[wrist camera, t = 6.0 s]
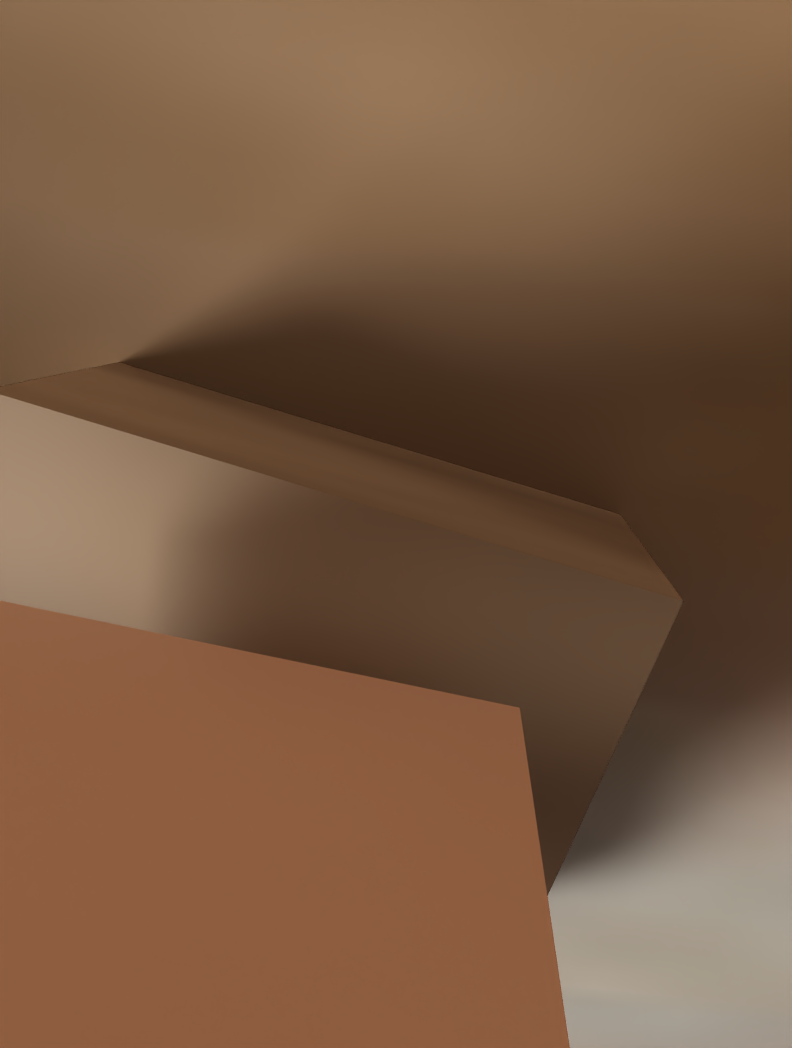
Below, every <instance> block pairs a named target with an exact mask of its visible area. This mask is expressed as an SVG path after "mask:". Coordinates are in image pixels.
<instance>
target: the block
mask: <svg viewBox="0 0 792 1048" xmlns="http://www.w3.org/2000/svg"><path fill="white" fill-rule="evenodd" d="M0 601H5V602H10V603H15V604H19V605H24V606H29V607H34V608H39V609H44V610H48V611H53V612H58V613H63V614H68V615H73V616H78V617H82V618H87V619H92V620H97V621H102V622H107V623H111V624H116V625H121V626H126V627H131V628H136V629H141V630H145V631H150V632H155V633H160V634H165V635H170V636H174V637H179V638H184V639H189V640H194V641H199V642H204V643H208V644H213V645H218V646H223V647H228V648H233V649H237V650H242V651H247V652H252V653H257V654H262V655H267V656H271V657H276V658H281V659H286V660H291V661H296V662H300V663H305V664H310V665H315V666H320V667H325V668H330V669H334V670H339V671H344V672H349V673H354V674H359V675H363V676H368V677H373V678H378V679H383V680H388V681H393V682H397V683H402V684H407V685H412V686H417V687H422V688H426V689H431V690H436V691H441V692H446V693H451V694H456V695H460V696H465V697H470V698H475V699H480V700H485V701H489V702H494V703H499V704H504V705H509V706H514V707H519V708H520V713H521V720H522V727H523V734H524V741H525V747H526V754H527V761H528V768H529V775H530V781H531V788H532V795H533V802H534V809H535V815H536V822H537V829H538V836H539V843H540V849H541V856H542V863H543V870H544V877H545V883H546V890H547V896H548V893H549V891H550V889H551V887H552V885H553V883H554V880H555V878H556V876H557V874H558V872H559V870H560V868H561V865H562V863H563V861H564V859H565V857H566V855H567V852H568V850H569V848H570V846H571V844H572V842H573V839H574V837H575V835H576V833H577V831H578V829H579V826H580V824H581V822H582V820H583V818H584V816H585V813H586V811H587V809H588V807H589V805H590V803H591V800H592V798H593V796H594V794H595V792H596V790H597V787H598V785H599V783H600V781H601V779H602V777H603V774H604V772H605V770H606V768H607V766H608V764H609V761H610V759H611V757H612V755H613V753H614V751H615V748H616V746H617V744H618V742H619V740H620V738H621V735H622V733H623V731H624V729H625V727H626V725H627V722H628V720H629V718H630V716H631V714H632V712H633V709H634V707H635V705H636V703H637V701H638V699H639V696H640V694H641V692H642V690H643V688H644V686H645V683H646V681H647V679H648V677H649V675H650V673H651V670H652V668H653V666H654V664H655V662H656V660H657V657H658V655H659V653H660V651H661V649H662V647H663V645H664V642H665V640H666V638H667V636H668V634H669V632H670V629H671V627H672V625H673V623H674V621H675V619H676V616H677V614H678V612H679V610H680V608H681V606H682V603H683V600H682V598H681V597H680V596H679V594H678V593H677V592H676V590H675V589H674V587H673V586H672V585H671V583H670V582H669V581H668V579H667V578H666V576H665V575H664V574H663V572H662V571H661V570H660V568H659V567H658V566H657V564H656V563H655V561H654V560H653V559H652V557H651V556H650V555H649V553H648V552H647V550H646V549H645V548H644V546H643V545H642V544H641V542H640V541H639V540H638V538H637V537H636V535H635V534H634V533H633V531H632V530H631V529H630V527H629V526H628V524H627V523H626V522H625V520H624V519H623V518H622V516H621V515H620V514H617V513H614V512H610V511H607V510H604V509H600V508H597V507H594V506H591V505H587V504H584V503H581V502H577V501H574V500H571V499H568V498H564V497H561V496H558V495H554V494H551V493H548V492H545V491H541V490H538V489H535V488H531V487H528V486H525V485H521V484H518V483H515V482H512V481H508V480H505V479H502V478H498V477H495V476H492V475H489V474H485V473H482V472H479V471H475V470H472V469H469V468H466V467H462V466H459V465H456V464H452V463H449V462H446V461H442V460H439V459H436V458H433V457H429V456H426V455H423V454H419V453H416V452H413V451H410V450H406V449H403V448H400V447H396V446H393V445H390V444H387V443H383V442H380V441H377V440H373V439H370V438H367V437H364V436H360V435H357V434H354V433H350V432H347V431H344V430H340V429H337V428H334V427H331V426H327V425H324V424H321V423H317V422H314V421H311V420H308V419H304V418H301V417H298V416H294V415H291V414H288V413H285V412H281V411H278V410H275V409H271V408H268V407H265V406H262V405H258V404H255V403H252V402H248V401H245V400H242V399H238V398H235V397H232V396H229V395H225V394H222V393H219V392H215V391H212V390H209V389H206V388H202V387H199V386H196V385H192V384H189V383H186V382H183V381H179V380H176V379H173V378H169V377H166V376H163V375H159V374H156V373H153V372H150V371H146V370H143V369H140V368H136V367H133V366H130V365H127V364H123V363H120V362H118V363H113V364H108V365H103V366H98V367H93V368H88V369H83V370H79V371H74V372H69V373H64V374H59V375H54V376H49V377H44V378H39V379H34V380H29V381H24V382H20V383H15V384H10V385H5V386H0Z"/></svg>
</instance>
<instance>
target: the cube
mask: <svg viewBox="0 0 792 1048" xmlns="http://www.w3.org/2000/svg"><path fill="white" fill-rule="evenodd" d="M0 1048H570V1047H569V1040H568V1033H567V1026H566V1019H565V1013H564V1006H563V999H562V992H561V985H560V979H559V972H558V965H557V958H556V951H555V945H554V938H553V931H552V924H551V917H550V911H549V904H548V897H547V890H546V883H545V877H544V870H543V863H542V856H541V849H540V843H539V836H538V829H537V822H536V815H535V809H534V802H533V795H532V788H531V781H530V775H529V768H528V761H527V754H526V747H525V741H524V734H523V727H522V720H521V713H520V708H519V707H514V706H509V705H504V704H499V703H494V702H489V701H485V700H480V699H475V698H470V697H465V696H460V695H456V694H451V693H446V692H441V691H436V690H431V689H426V688H422V687H417V686H412V685H407V684H402V683H397V682H393V681H388V680H383V679H378V678H373V677H368V676H363V675H359V674H354V673H349V672H344V671H339V670H334V669H330V668H325V667H320V666H315V665H310V664H305V663H300V662H296V661H291V660H286V659H281V658H276V657H271V656H267V655H262V654H257V653H252V652H247V651H242V650H237V649H233V648H228V647H223V646H218V645H213V644H208V643H204V642H199V641H194V640H189V639H184V638H179V637H174V636H170V635H165V634H160V633H155V632H150V631H145V630H141V629H136V628H131V627H126V626H121V625H116V624H111V623H107V622H102V621H97V620H92V619H87V618H82V617H78V616H73V615H68V614H63V613H58V612H53V611H48V610H44V609H39V608H34V607H29V606H24V605H19V604H15V603H10V602H5V601H0Z"/></svg>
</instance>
